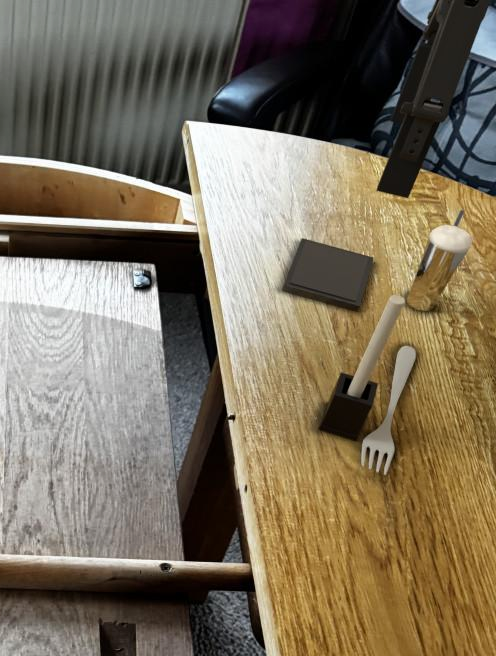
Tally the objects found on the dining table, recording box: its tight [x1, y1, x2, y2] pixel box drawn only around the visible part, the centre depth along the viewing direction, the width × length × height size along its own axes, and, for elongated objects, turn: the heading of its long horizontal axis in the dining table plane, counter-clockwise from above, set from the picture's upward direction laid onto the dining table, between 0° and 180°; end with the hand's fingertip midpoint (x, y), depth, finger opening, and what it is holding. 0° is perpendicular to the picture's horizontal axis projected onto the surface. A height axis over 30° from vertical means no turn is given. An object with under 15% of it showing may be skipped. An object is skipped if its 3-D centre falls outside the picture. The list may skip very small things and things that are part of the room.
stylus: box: [347, 294, 406, 398], centre depth 90 cm, size 1×1×14 cm
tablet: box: [281, 237, 375, 312], centre depth 111 cm, size 9×11×1 cm
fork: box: [360, 345, 417, 476], centre depth 97 cm, size 3×24×2 cm, turn 156°
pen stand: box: [318, 372, 379, 442], centre depth 94 cm, size 4×4×4 cm
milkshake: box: [405, 208, 473, 312], centre depth 106 cm, size 5×5×10 cm
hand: (398, 156), depth 83 cm, fingers open, 13 cm apart
